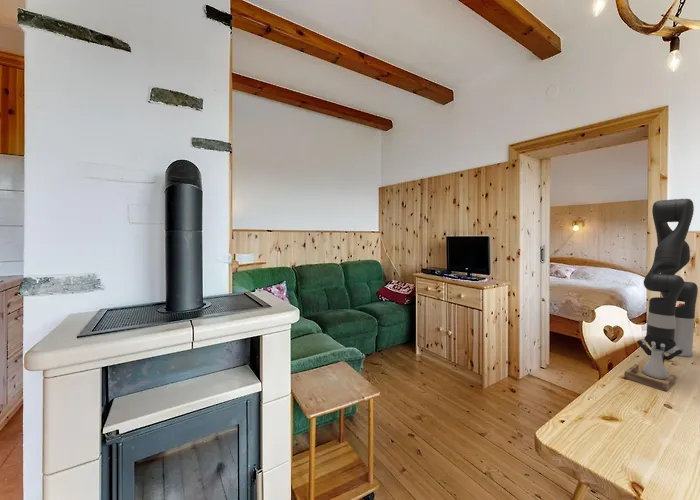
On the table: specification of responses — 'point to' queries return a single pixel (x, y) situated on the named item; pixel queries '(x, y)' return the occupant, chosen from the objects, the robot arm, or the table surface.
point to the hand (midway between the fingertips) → (658, 367)
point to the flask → (656, 366)
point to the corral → (648, 379)
